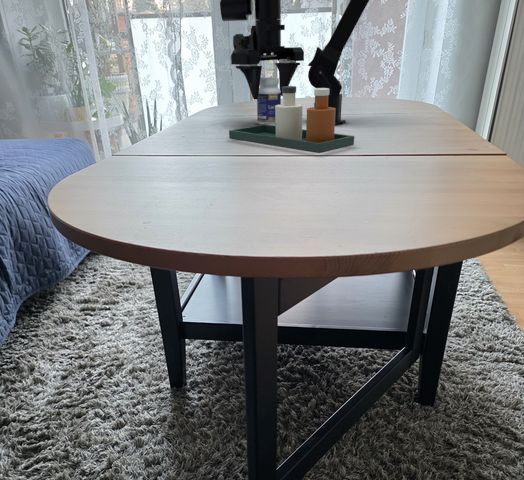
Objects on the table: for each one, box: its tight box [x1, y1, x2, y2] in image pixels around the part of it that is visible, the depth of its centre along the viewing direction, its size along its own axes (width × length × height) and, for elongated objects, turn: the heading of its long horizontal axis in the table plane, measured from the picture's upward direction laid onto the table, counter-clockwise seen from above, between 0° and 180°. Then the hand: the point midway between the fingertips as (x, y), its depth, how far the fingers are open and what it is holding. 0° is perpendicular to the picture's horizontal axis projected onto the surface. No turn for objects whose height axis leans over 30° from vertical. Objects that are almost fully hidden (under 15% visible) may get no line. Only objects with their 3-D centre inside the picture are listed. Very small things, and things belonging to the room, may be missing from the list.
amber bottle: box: [305, 88, 336, 143], centre depth 93 cm, size 5×5×10 cm
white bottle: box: [275, 85, 304, 140], centre depth 98 cm, size 5×5×10 cm
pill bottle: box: [256, 77, 282, 125], centre depth 122 cm, size 6×6×10 cm
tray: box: [228, 124, 355, 154], centre depth 100 cm, size 10×24×2 cm, turn 44°
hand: (269, 97), depth 121 cm, fingers open, 9 cm apart
